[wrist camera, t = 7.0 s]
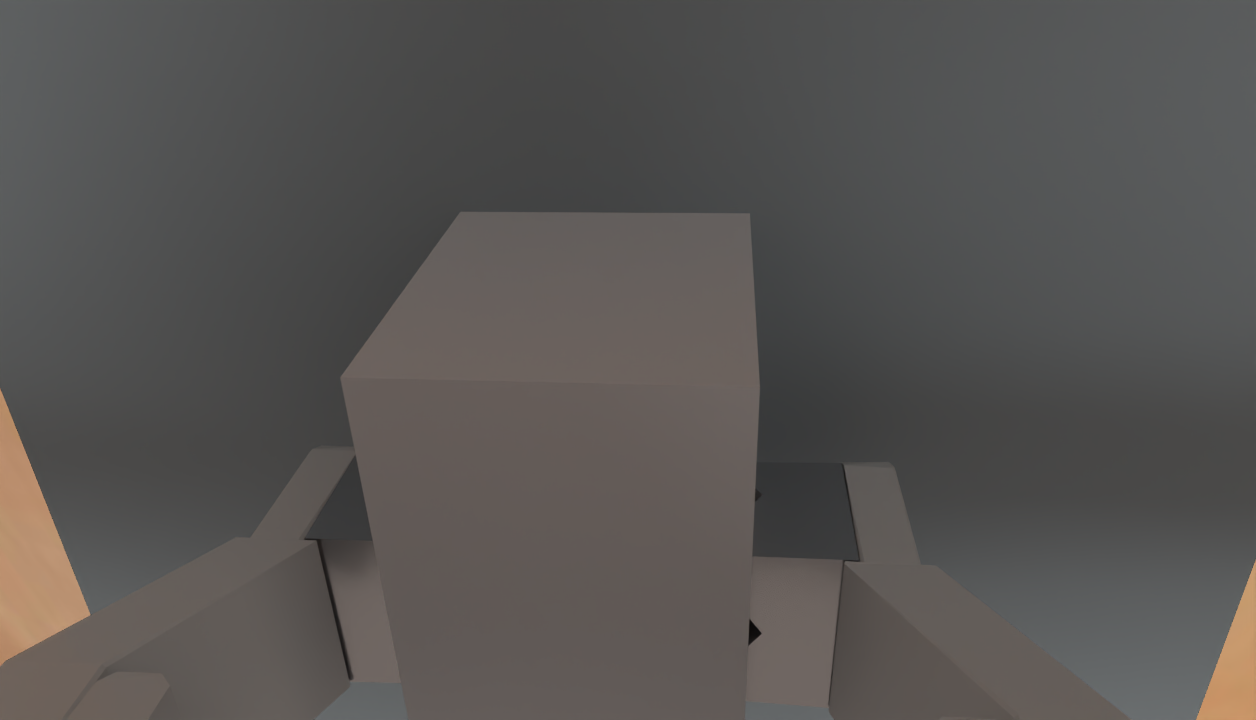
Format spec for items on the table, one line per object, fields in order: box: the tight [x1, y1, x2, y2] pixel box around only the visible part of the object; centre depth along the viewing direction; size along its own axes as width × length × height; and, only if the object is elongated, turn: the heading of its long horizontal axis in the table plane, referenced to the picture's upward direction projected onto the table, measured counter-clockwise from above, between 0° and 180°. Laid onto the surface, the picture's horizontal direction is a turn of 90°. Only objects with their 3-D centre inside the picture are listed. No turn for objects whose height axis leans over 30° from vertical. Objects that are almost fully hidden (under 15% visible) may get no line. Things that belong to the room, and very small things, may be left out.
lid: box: [0, 0, 1256, 720], centre depth 10 cm, size 15×15×5 cm
